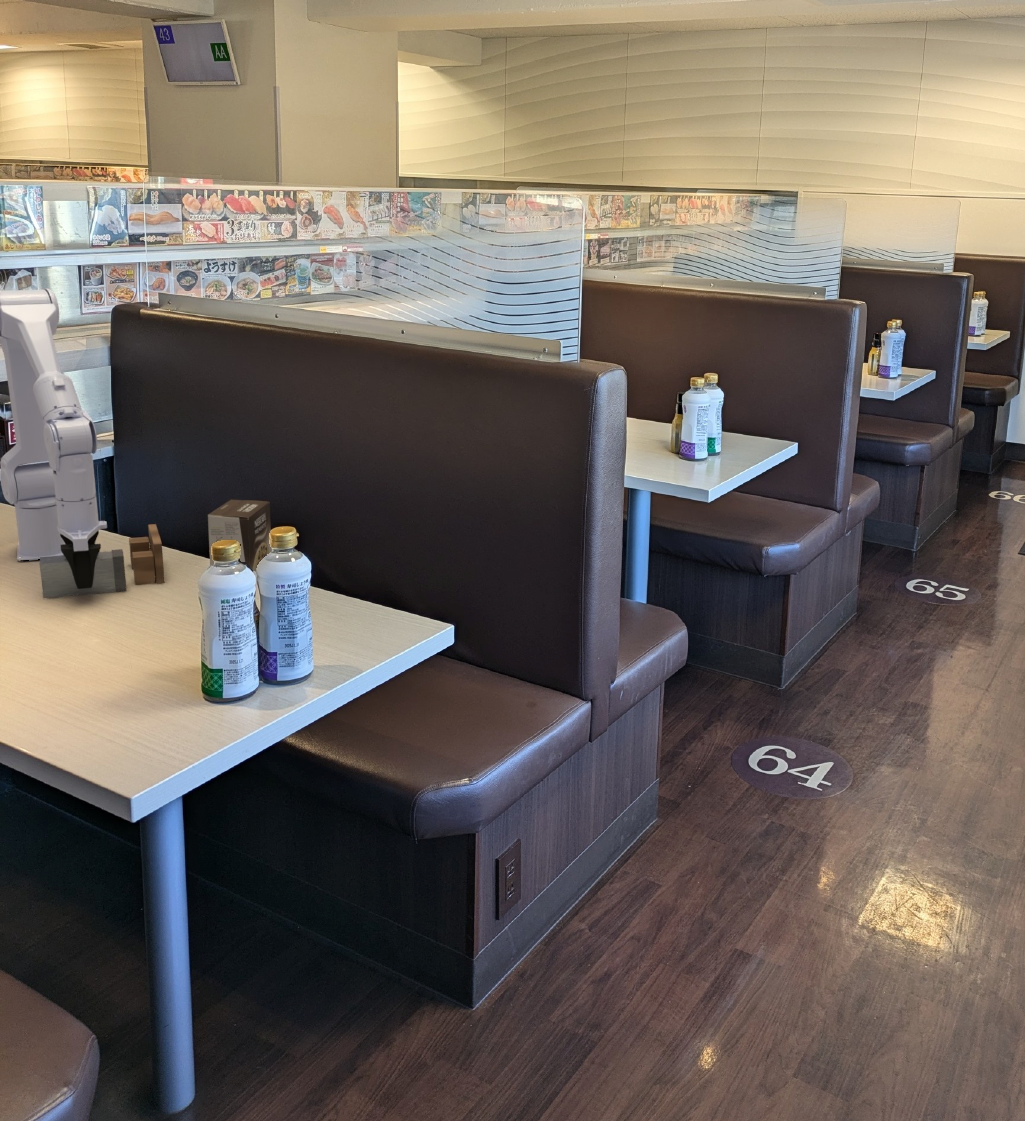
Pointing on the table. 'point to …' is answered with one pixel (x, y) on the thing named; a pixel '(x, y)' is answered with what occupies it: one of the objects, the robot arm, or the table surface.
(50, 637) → the table surface
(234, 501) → the coffee box
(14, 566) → the table surface
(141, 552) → the post block
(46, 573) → the rail
